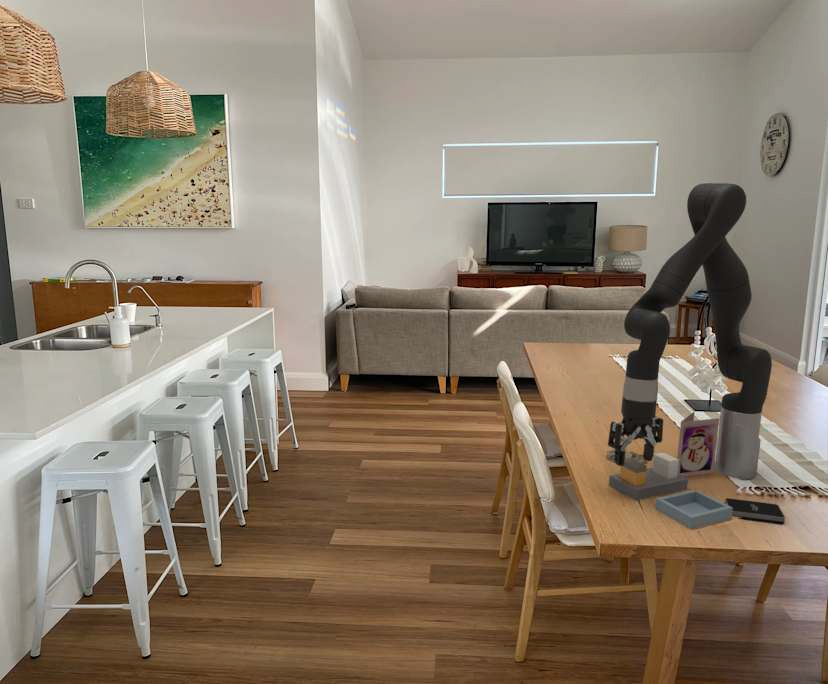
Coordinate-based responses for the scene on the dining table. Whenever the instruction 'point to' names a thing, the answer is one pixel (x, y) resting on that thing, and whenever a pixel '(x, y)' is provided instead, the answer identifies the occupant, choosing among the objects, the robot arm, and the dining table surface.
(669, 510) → the parts tray
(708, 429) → the greeting card
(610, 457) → the mineral rock
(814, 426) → the dining table surface
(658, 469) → the block
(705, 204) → the robot arm
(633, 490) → the fuse holder
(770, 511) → the external hard drive
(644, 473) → the block
